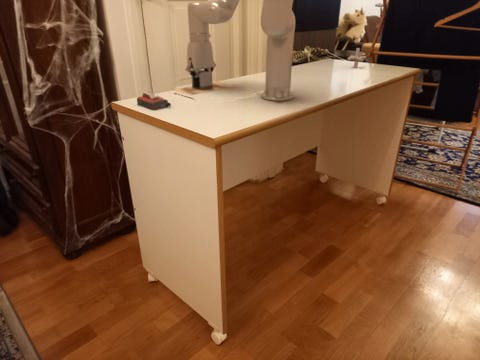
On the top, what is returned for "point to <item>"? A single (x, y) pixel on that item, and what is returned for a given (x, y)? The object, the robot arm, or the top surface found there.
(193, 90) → the board
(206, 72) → the block
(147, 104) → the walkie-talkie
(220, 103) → the top surface
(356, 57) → the pipe connector
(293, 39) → the robot arm
